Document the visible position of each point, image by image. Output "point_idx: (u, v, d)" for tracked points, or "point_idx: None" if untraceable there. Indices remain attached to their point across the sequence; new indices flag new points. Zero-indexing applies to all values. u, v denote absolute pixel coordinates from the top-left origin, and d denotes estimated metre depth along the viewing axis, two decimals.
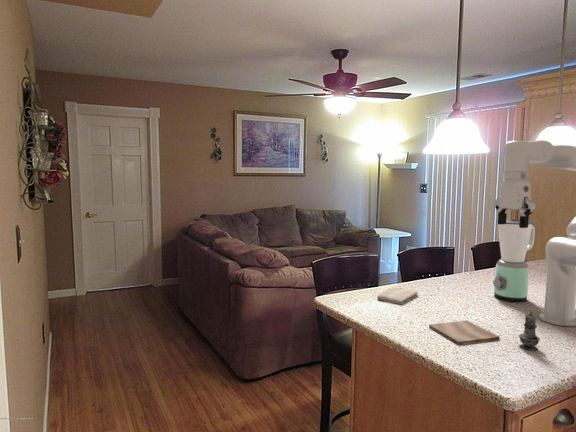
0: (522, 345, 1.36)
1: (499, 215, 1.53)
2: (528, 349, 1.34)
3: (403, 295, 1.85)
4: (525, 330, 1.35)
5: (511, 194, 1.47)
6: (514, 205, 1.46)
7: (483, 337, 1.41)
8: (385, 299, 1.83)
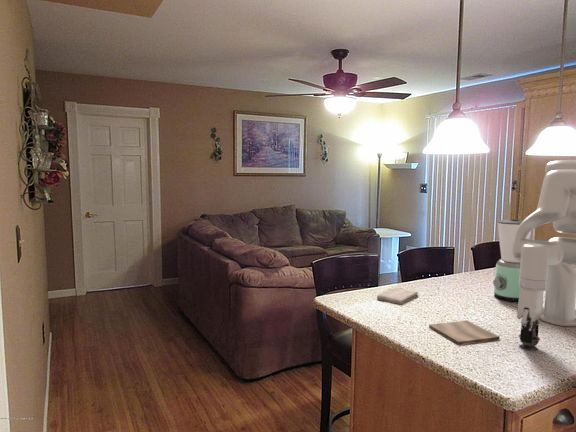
0: (522, 345, 1.36)
1: None
2: (528, 349, 1.34)
3: (403, 295, 1.85)
4: None
5: (541, 302, 1.33)
6: (540, 313, 1.35)
7: (483, 337, 1.41)
8: (385, 299, 1.83)
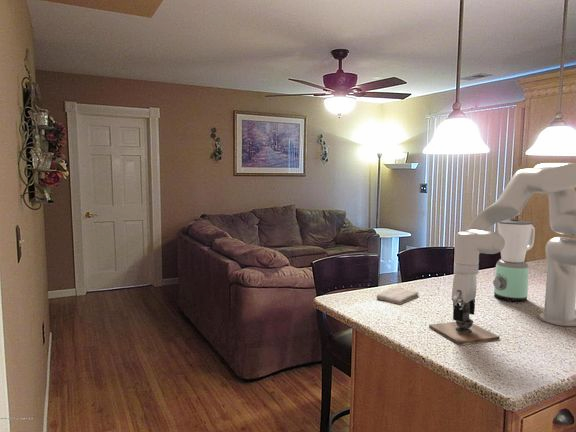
0: (458, 328, 1.48)
1: None
2: (462, 331, 1.46)
3: (402, 295, 1.85)
4: None
5: (474, 286, 1.45)
6: (474, 295, 1.46)
7: (483, 337, 1.41)
8: (384, 299, 1.84)
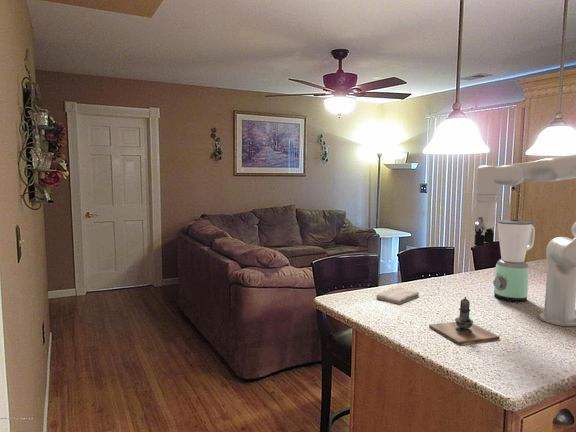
0: (458, 328, 1.48)
1: None
2: (462, 331, 1.46)
3: (402, 295, 1.85)
4: (460, 314, 1.47)
5: (493, 214, 1.60)
6: (493, 224, 1.61)
7: (483, 337, 1.41)
8: (384, 298, 1.84)
